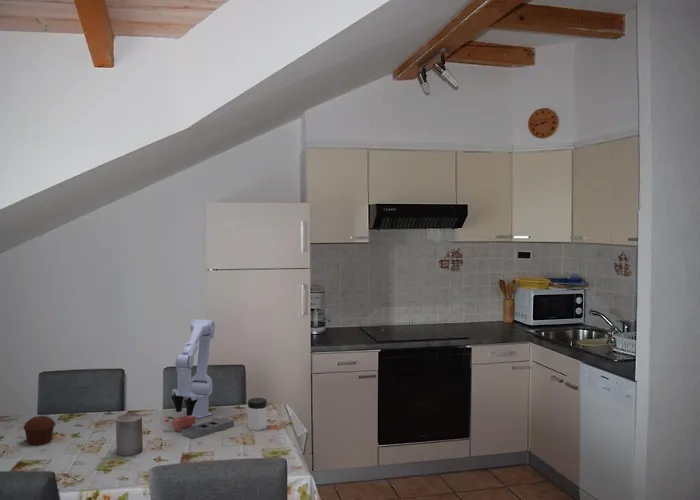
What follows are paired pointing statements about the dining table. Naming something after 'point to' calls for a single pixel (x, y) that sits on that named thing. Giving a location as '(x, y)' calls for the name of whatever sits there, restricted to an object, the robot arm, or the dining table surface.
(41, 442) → the muffin
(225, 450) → the dining table surface
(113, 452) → the dining table surface
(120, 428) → the pillar candle
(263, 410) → the jar
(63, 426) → the dining table surface
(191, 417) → the clip
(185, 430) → the rail
